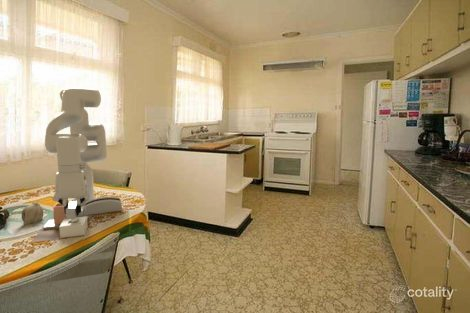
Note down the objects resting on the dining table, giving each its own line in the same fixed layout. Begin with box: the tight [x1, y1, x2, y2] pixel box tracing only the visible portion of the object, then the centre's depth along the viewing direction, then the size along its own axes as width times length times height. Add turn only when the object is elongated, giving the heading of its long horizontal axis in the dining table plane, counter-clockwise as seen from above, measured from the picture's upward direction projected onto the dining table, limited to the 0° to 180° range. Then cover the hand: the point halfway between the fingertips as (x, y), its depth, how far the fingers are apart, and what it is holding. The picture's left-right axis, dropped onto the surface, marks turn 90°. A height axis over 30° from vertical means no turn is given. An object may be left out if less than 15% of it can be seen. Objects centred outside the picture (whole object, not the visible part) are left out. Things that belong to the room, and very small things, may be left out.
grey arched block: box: [85, 196, 123, 216], centre depth 128 cm, size 17×5×10 cm, turn 119°
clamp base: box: [42, 198, 90, 230], centre depth 113 cm, size 8×15×10 cm, turn 111°
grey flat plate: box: [30, 216, 92, 243], centre depth 109 cm, size 20×17×2 cm
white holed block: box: [59, 217, 89, 238], centre depth 106 cm, size 8×8×4 cm
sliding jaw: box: [52, 201, 70, 225], centre depth 113 cm, size 6×6×7 cm
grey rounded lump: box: [21, 201, 45, 226], centre depth 116 cm, size 9×8×10 cm
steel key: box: [66, 200, 77, 223], centre depth 105 cm, size 8×3×10 cm, turn 21°
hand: (73, 214), depth 105 cm, fingers closed on steel key, 2 cm apart
